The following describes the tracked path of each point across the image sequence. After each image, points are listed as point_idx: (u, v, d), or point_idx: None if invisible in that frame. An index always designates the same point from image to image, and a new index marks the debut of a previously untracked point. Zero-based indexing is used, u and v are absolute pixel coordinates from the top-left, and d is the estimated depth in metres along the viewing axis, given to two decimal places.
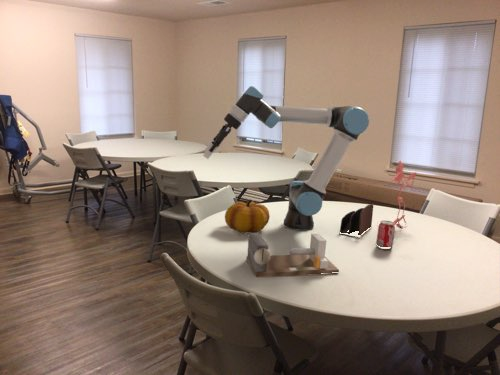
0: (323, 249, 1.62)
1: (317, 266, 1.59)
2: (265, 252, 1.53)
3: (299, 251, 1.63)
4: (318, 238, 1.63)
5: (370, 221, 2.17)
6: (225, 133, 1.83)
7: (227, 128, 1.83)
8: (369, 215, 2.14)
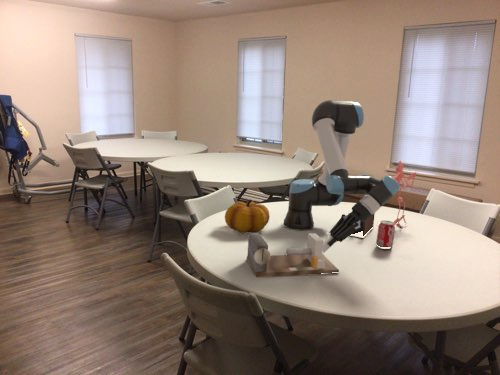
0: (320, 249, 1.62)
1: (314, 266, 1.59)
2: (265, 252, 1.53)
3: (296, 251, 1.63)
4: (315, 238, 1.63)
5: (372, 221, 2.17)
6: (353, 230, 1.62)
7: (357, 226, 1.61)
8: (372, 215, 2.13)
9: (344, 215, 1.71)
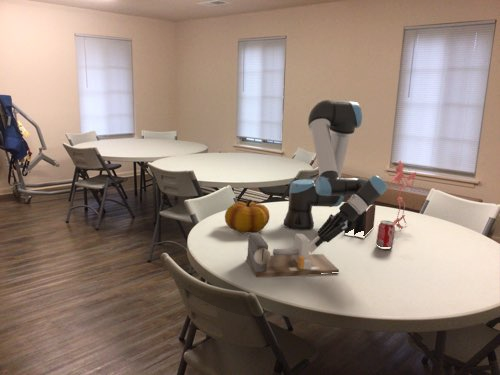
0: (307, 249, 1.60)
1: (301, 267, 1.58)
2: (265, 252, 1.53)
3: (282, 251, 1.62)
4: (302, 238, 1.62)
5: (373, 221, 2.17)
6: (340, 231, 1.60)
7: (344, 226, 1.59)
8: (372, 215, 2.13)
9: (332, 215, 1.70)
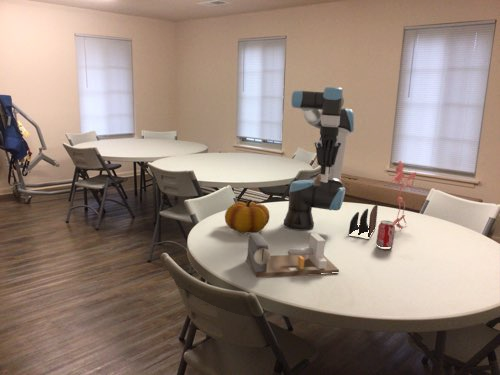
0: (322, 249, 1.62)
1: (301, 267, 1.58)
2: (265, 252, 1.53)
3: (297, 251, 1.63)
4: (317, 238, 1.63)
5: (375, 222, 2.16)
6: (318, 150, 1.75)
7: (316, 145, 1.75)
8: (375, 216, 2.13)
9: None
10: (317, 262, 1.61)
